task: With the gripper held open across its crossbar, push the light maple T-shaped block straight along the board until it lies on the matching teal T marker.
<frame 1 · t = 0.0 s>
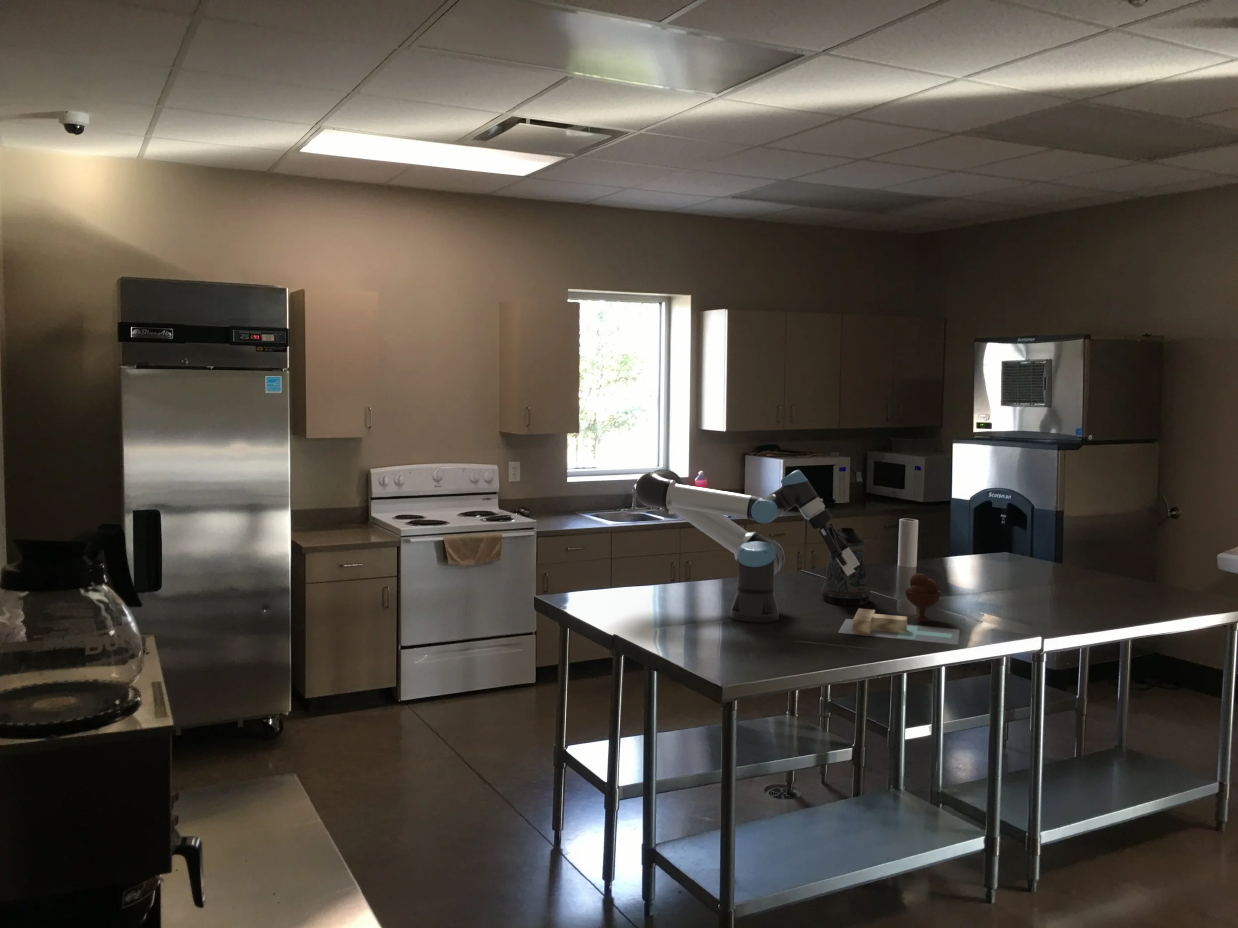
hand: (854, 570, 319), 15 cm above the table, tool tilted 35°, fingers open, 13 cm apart
beer stein: (846, 601, 344), on the table
t block: (880, 629, 303), resting on push board
ice cream bowl: (921, 620, 317), on the table
push board: (899, 632, 301), on the table
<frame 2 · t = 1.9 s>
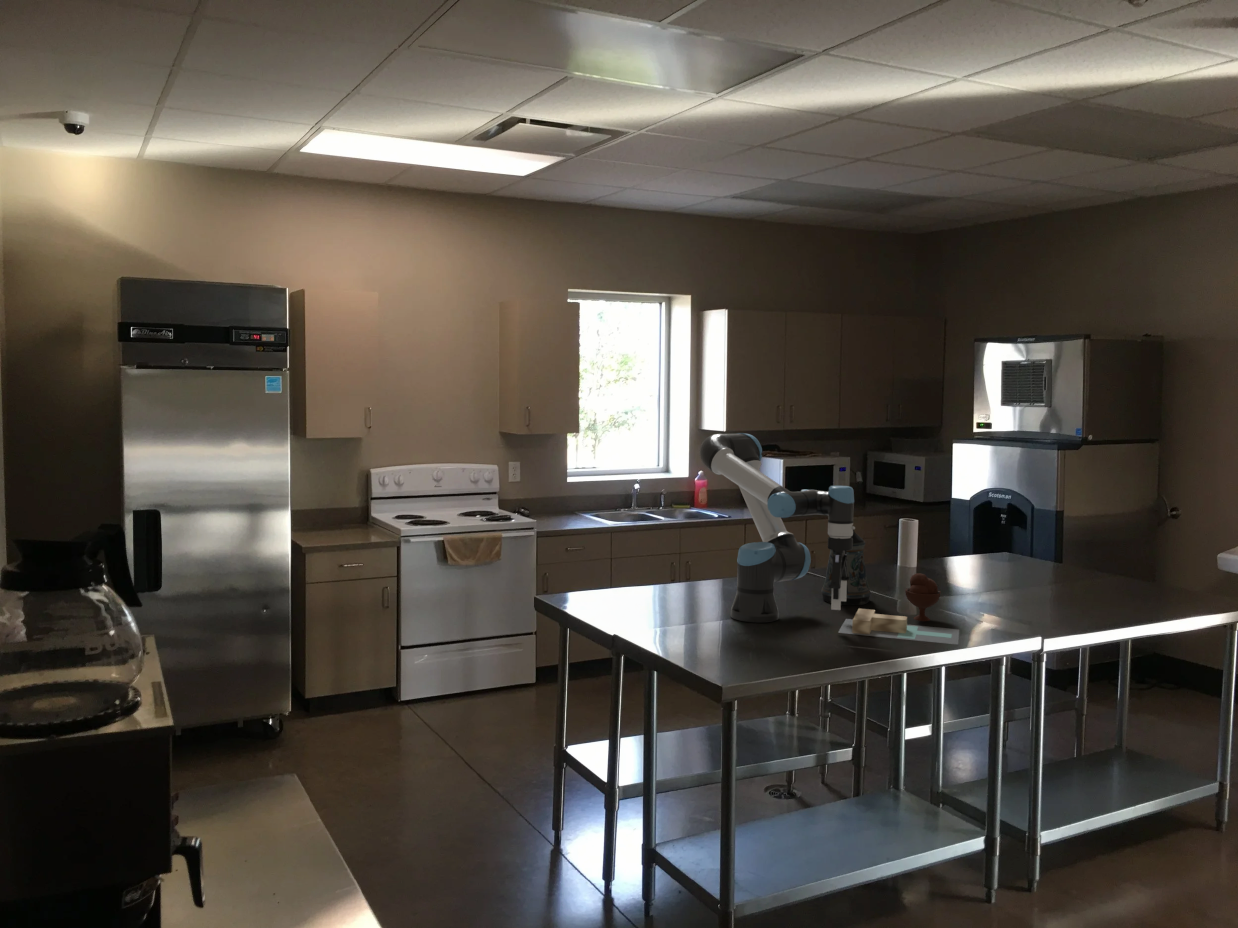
hand: (838, 605, 306), 7 cm above the table, tool pointing down, fingers open, 13 cm apart
nothing on the table moved.
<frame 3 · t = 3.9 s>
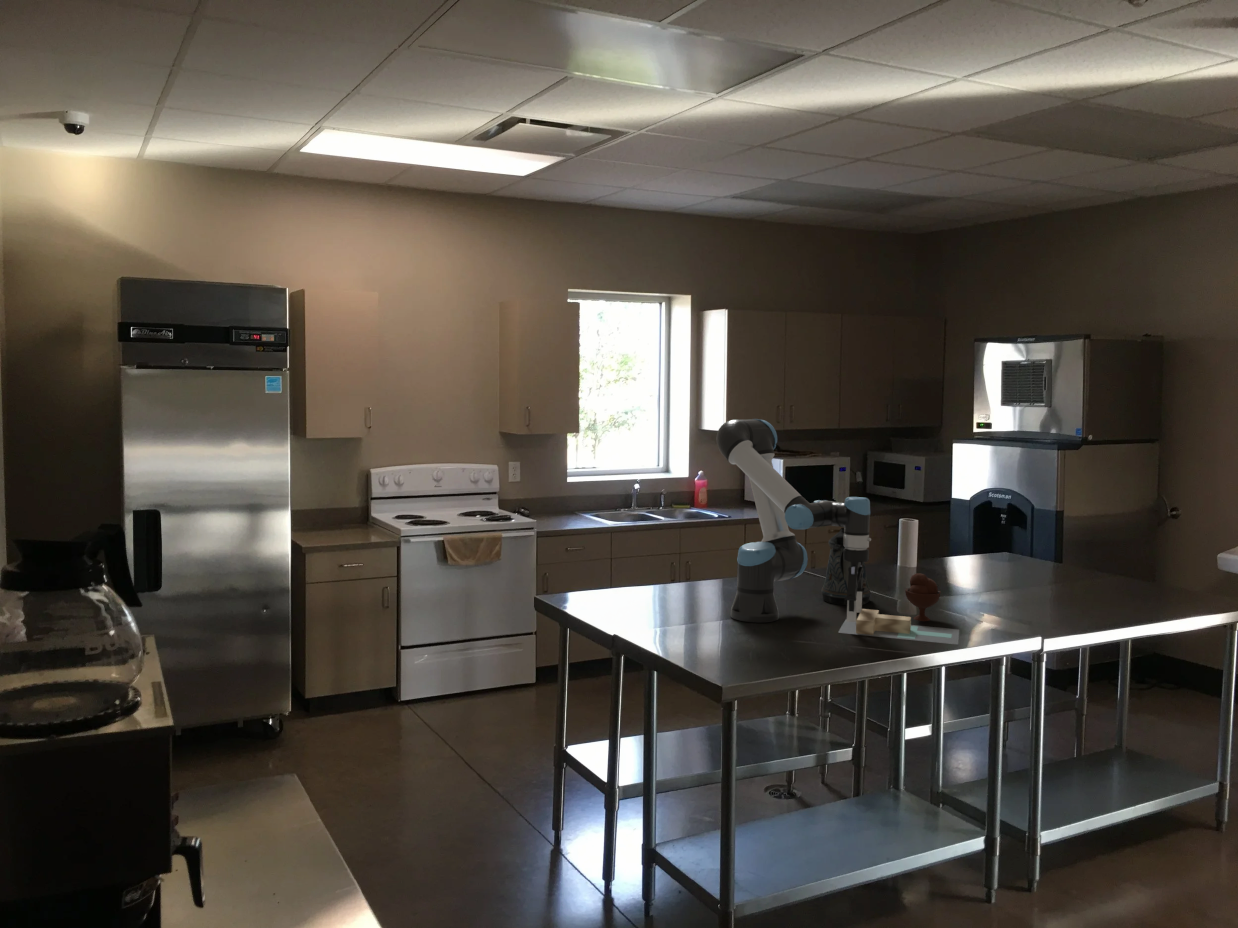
hand: (854, 616, 305), 3 cm above the table, tool pointing down, fingers open, 13 cm apart
t block: (884, 629, 303), resting on push board, touching gripper
everything else where it was.
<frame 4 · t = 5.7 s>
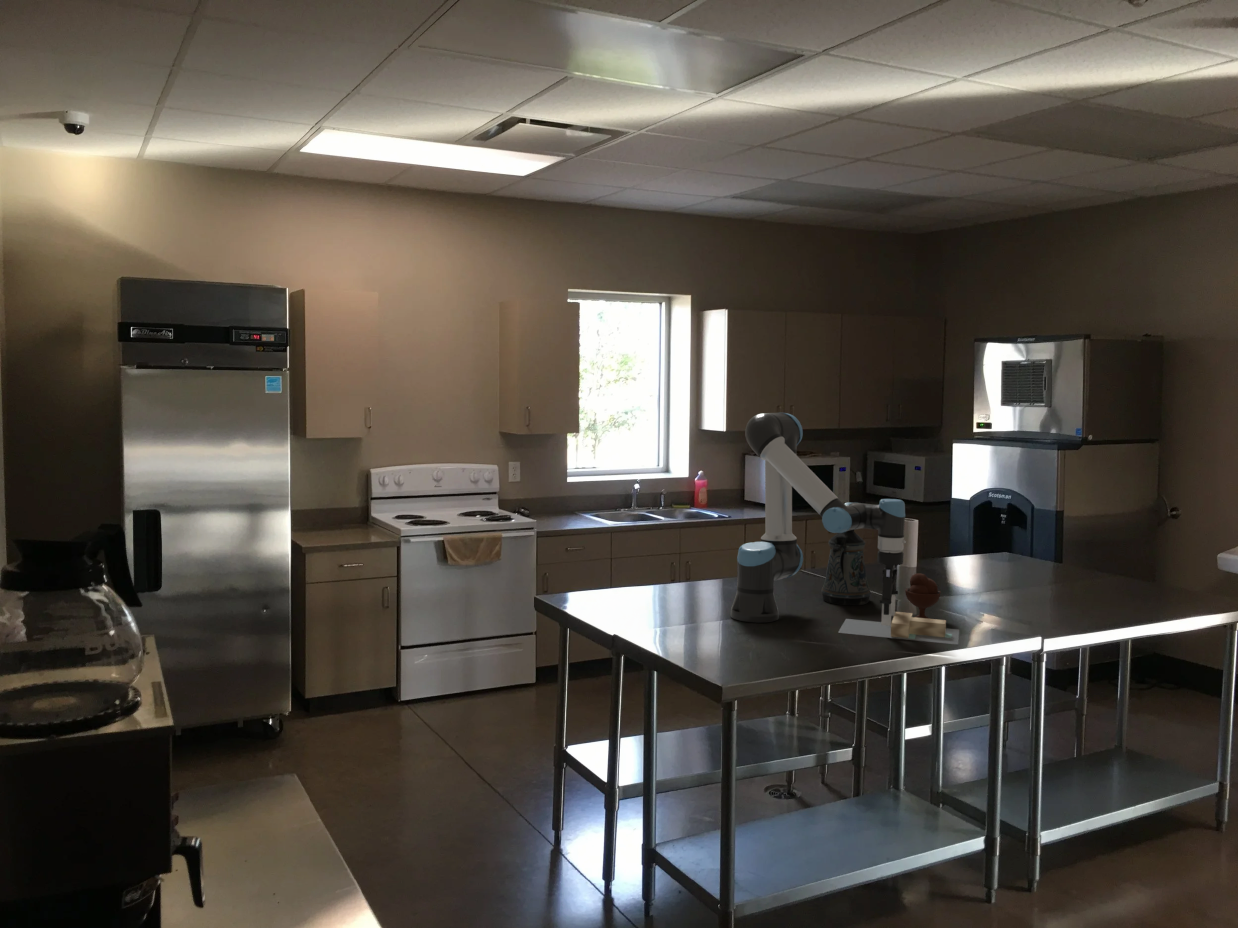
hand: (888, 620, 302), 3 cm above the table, tool pointing down, fingers open, 13 cm apart
t block: (918, 632, 299), resting on push board
everything else where it was.
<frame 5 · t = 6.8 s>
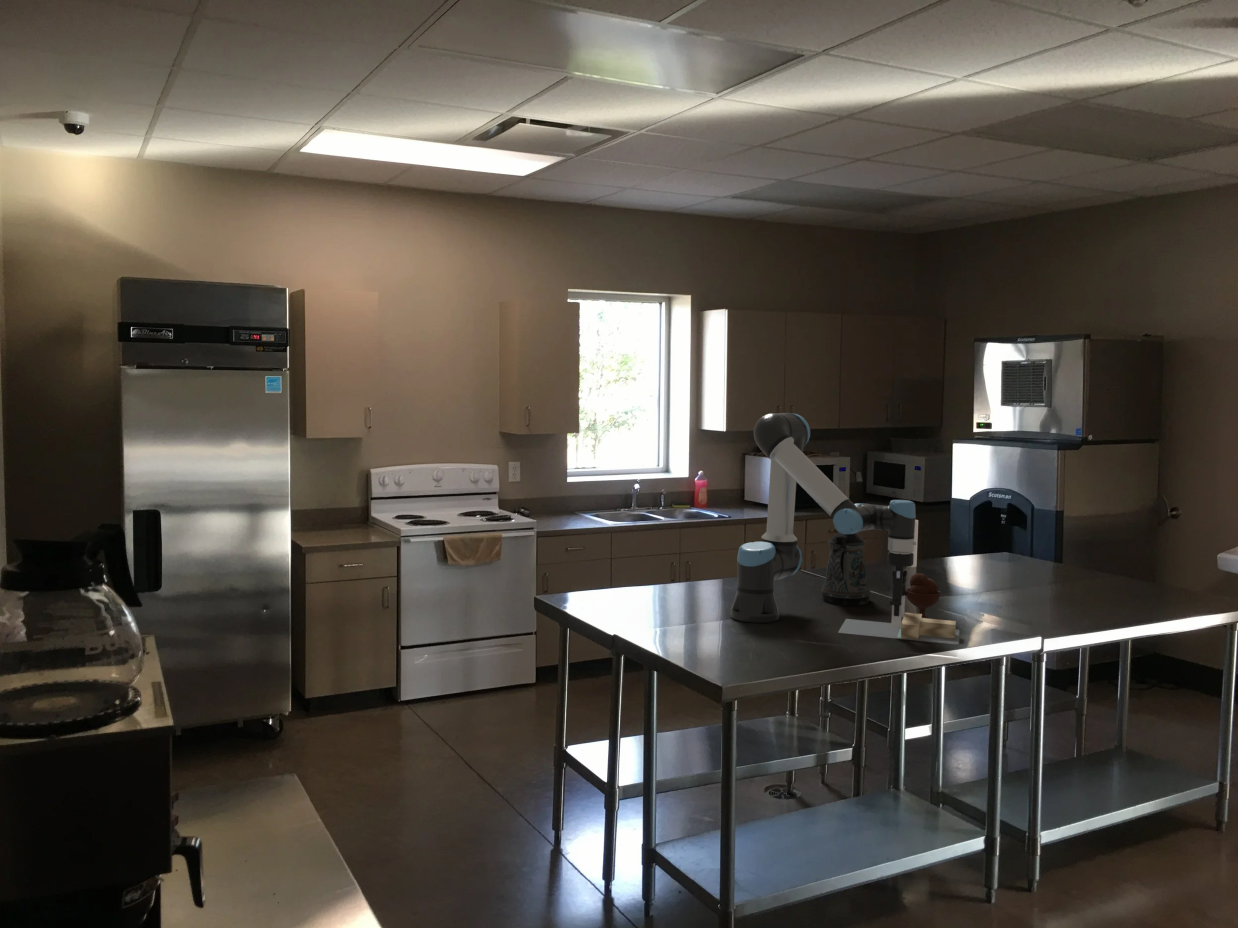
hand: (897, 621, 301), 3 cm above the table, tool pointing down, fingers open, 13 cm apart
t block: (928, 633, 298), resting on push board, touching gripper
everything else where it was.
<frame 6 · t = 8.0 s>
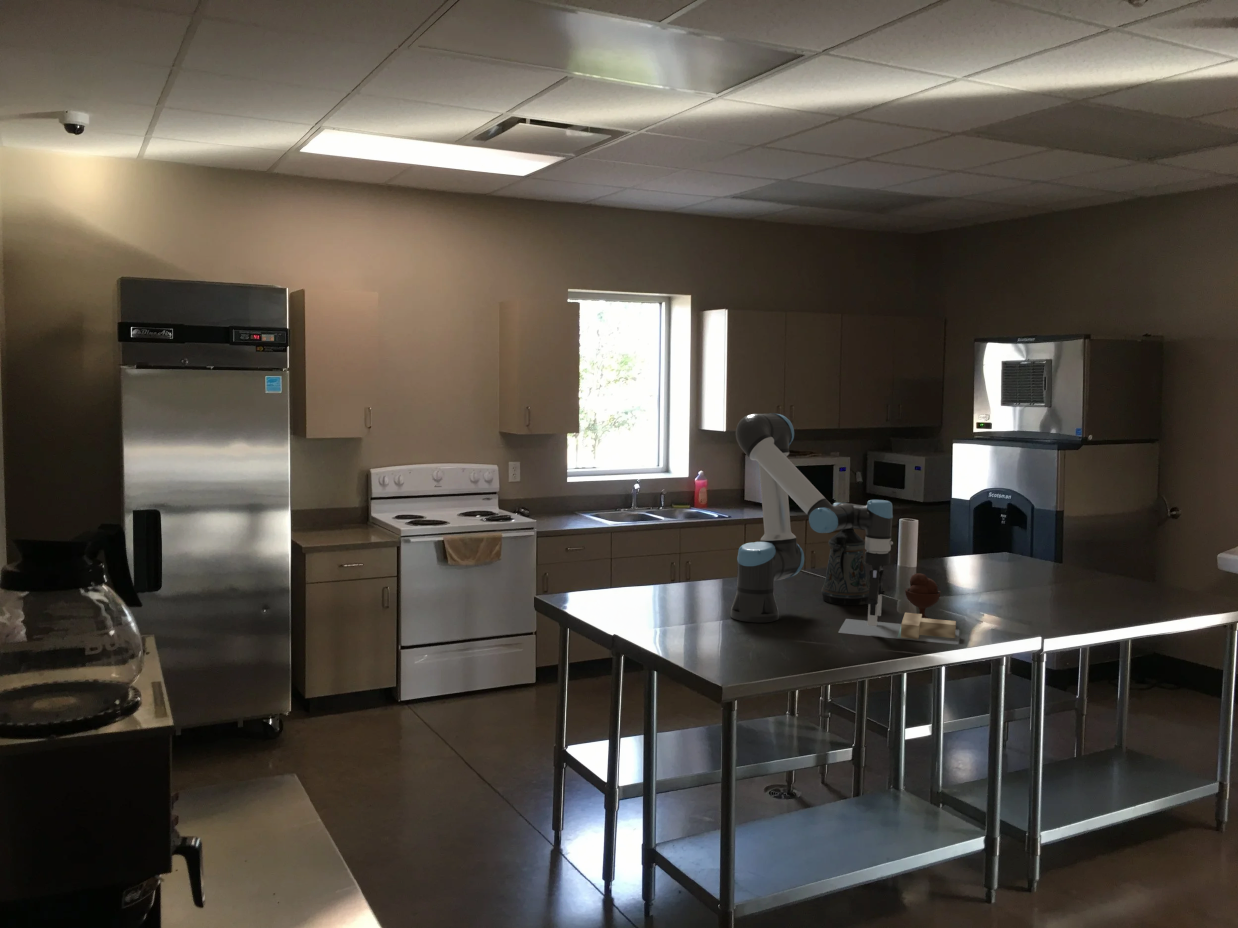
hand: (874, 620, 304), 3 cm above the table, tool pointing down, fingers open, 13 cm apart
t block: (928, 633, 298), resting on push board
everything else where it was.
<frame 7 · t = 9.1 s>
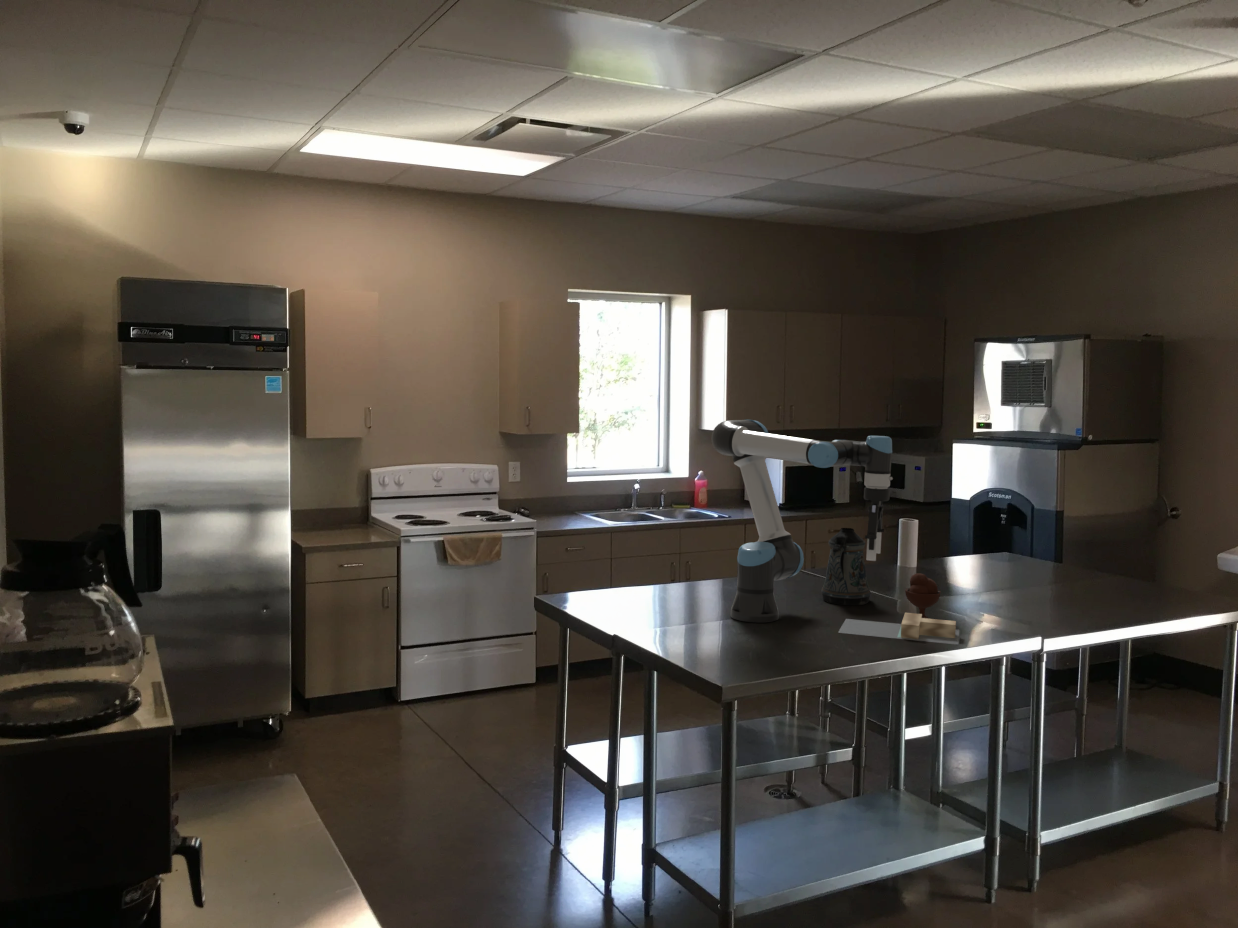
hand: (873, 556, 303), 22 cm above the table, tool pointing down, fingers open, 13 cm apart
nothing on the table moved.
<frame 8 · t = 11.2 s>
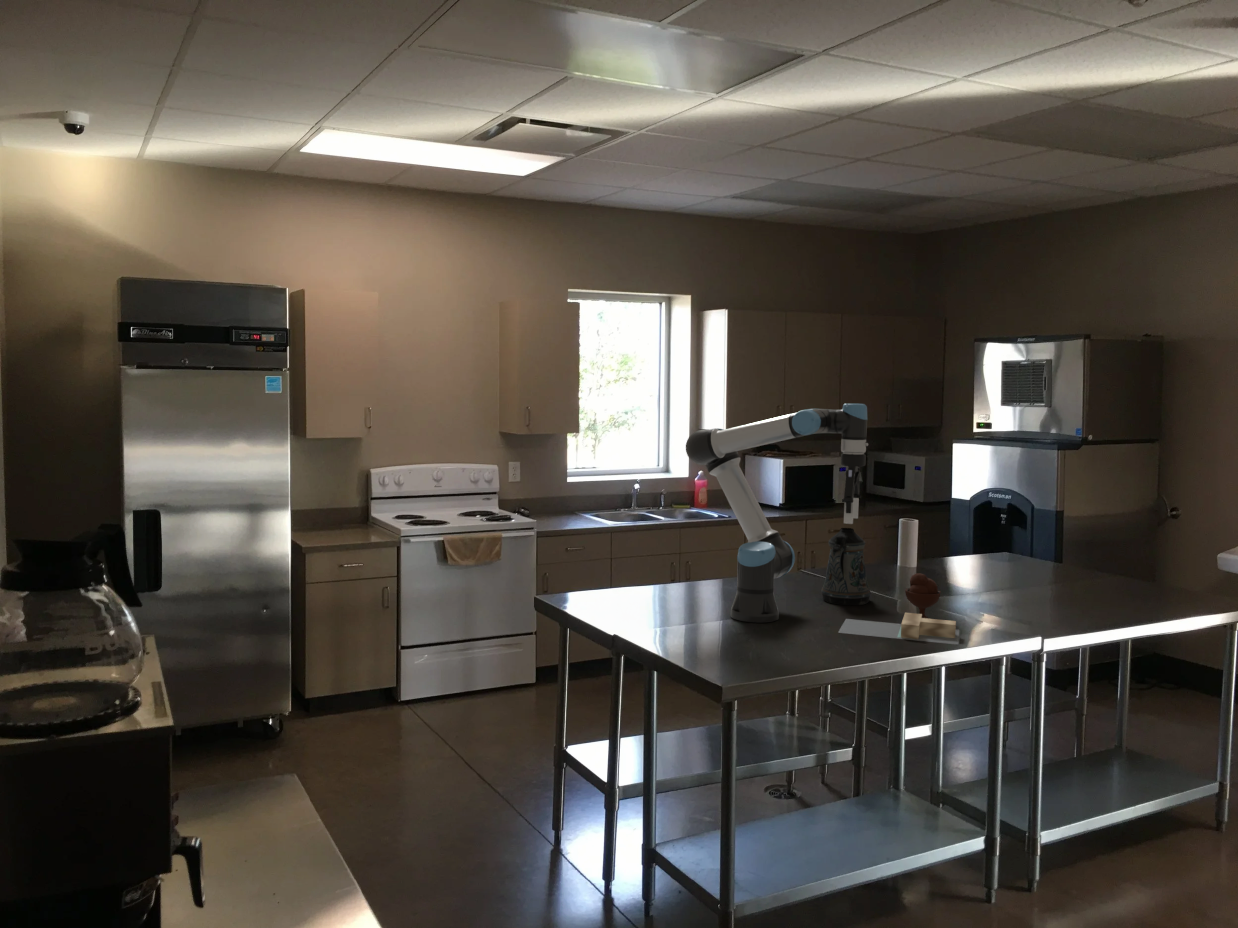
hand: (851, 520, 313), 32 cm above the table, tool pointing down, fingers open, 13 cm apart
nothing on the table moved.
at the end: t block 0.8 cm from the target spot, resting on push board; t block tilted 0°; t block moved 14.0 cm from its start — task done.
